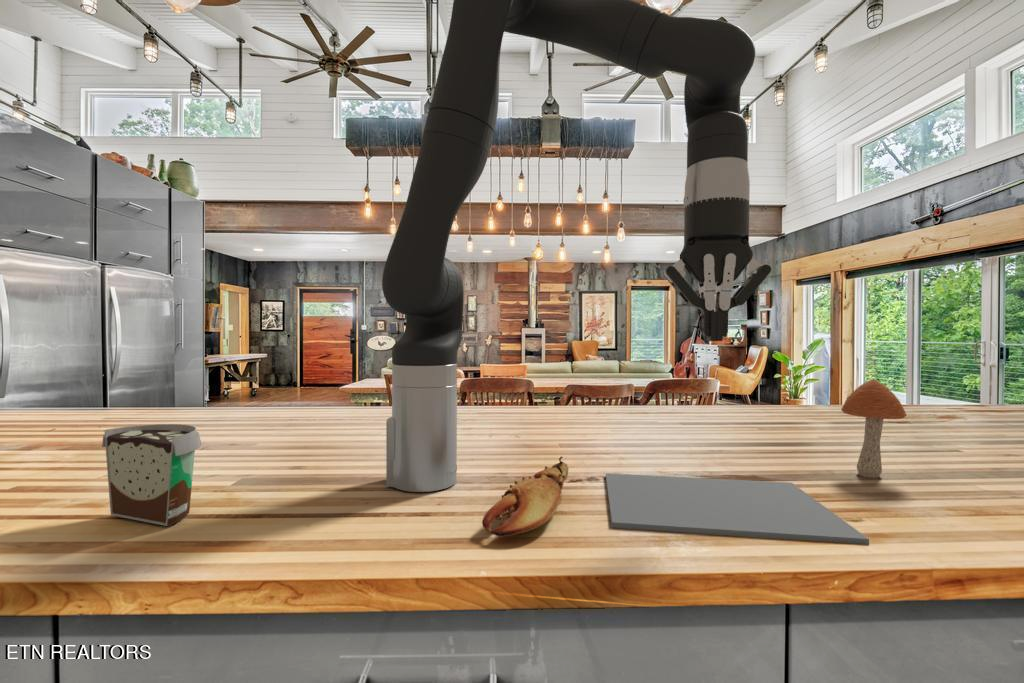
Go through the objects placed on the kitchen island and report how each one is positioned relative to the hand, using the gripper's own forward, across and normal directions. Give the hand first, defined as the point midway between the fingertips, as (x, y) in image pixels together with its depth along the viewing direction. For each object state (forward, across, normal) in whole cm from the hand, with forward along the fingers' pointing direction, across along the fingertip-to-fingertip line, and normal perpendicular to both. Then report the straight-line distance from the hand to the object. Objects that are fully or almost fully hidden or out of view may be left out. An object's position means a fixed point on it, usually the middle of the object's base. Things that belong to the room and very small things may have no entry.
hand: (714, 340), depth 61 cm
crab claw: (+18, -18, +3) cm, 26 cm away
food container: (+21, -66, -14) cm, 71 cm away
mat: (+21, 0, 0) cm, 21 cm away
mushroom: (+21, +27, +16) cm, 38 cm away
